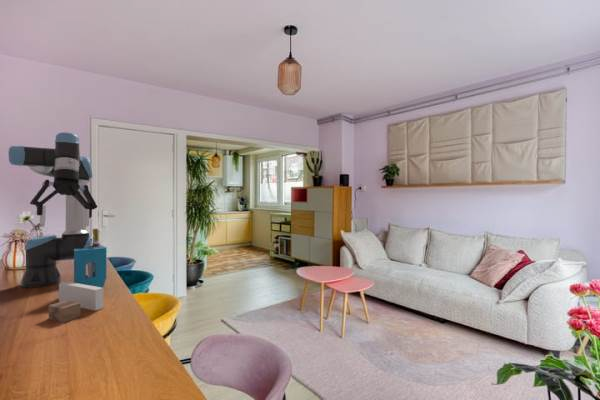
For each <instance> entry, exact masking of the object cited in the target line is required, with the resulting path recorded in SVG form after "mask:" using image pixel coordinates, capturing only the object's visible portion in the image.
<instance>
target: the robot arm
mask: <svg viewBox="0 0 600 400" xmlns="http://www.w3.org/2000/svg"><path fill="white" fill-rule="evenodd" d="M54 142H55V144H54V145H55V146H54V147H55V148H50V147H34V146H24V145H12V146H10V147H9V149H8V161H9V164H10V165H13V166H19V167H21V166H25V167H28V168H29V169H30V170H31V171H32V172H34V173H35V174H39V175H43V176H46V177H50V178H53V181H50V179H45V180H44V181H42V185H41V188H40V189H39V190H38V191H37V193H36V194H35V195H34V197H33V198H32V199H31V201H30V202H29V204H30V205H32V206H33V205H34V206H35V207H36V215H37V216H39V226H43V225H45V224H46V211H47V205H45V204H46V203H47V202H48V201H50V200H51V199H52V198H53V197H54V196H56V195H57V194H59V195H61V196H65V230H64V231H63V232H62V233H61V237H57V235H56V234H50V235H49V234H48V235H43V236H42V235H41V236H38V237H37V236H36V237H32V238H29V239H28V240H26V242H25V248H24V250H25V270H24V273H23V275H22V278H21V280H20V287H21V288H31V289H32V288H41V287H46V286H51V285H55V284H57V283H58V284H59V283H61V281H62V276H61V273H60V271H59V269H58V267H57V262H58V261H69V260H71V261H72V260H74V249H82V248H88V247H90V246H92V244H93V235H90V231H88V230H87V227H88V226H90V219H91V218H92V216H93V214H92V213H93V210H95V209H97V208H98V205H97V203H96V201H95V199H94V198H93V196H92V194H91V192H90V191H89V185H88V183H89V182H90V179H93V177H94V176H93V170H92V163H91V159H90V158H89V157H88V156H82V155H80V154H81V153H80V137H79V136H78V135H76V134H75V133H72V132H67V131H66V132H59V133H57V134H56V135H55V139H54ZM51 186H52V187H53V188H54V190H53V191H52V192H50V194H48V195H46V196H45V198H43V199H42V200H40V198H41V197H42V195H43V194H45V192H46V191H47V189H48V188H50V187H51ZM39 200H40V201H39Z"/></svg>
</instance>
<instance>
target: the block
mask: <svg viewBox="0 0 600 400" xmlns="http://www.w3.org/2000/svg"><path fill="white" fill-rule="evenodd" d="M90 261H92V262H93V263H95V274H94V275H93V277H88V274H87V266H88V263H89V262H90ZM107 263H108V262H107V246H104V247H94V248H82V249H74V259H73V283H79V284H85V285H90V286H96V287H101V288H103V289H104V287H105V284H106V280H107V268H108V267H107V265H108V264H107Z"/></svg>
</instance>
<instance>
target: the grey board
mask: <svg viewBox="0 0 600 400" xmlns="http://www.w3.org/2000/svg"><path fill="white" fill-rule="evenodd" d="M65 300H69V301H73V302H77V303H81V309H86V310H90V311H95V312H96V311H99V310H101V309H104V287H103V288H101V287H96V286H90V285H85V284H79V283H74V281H73V282H72V281H68V280H67V281H62V282H58V302H62V301H65Z"/></svg>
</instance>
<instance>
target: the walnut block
mask: <svg viewBox="0 0 600 400" xmlns="http://www.w3.org/2000/svg"><path fill="white" fill-rule="evenodd" d="M81 310H82V308H81V303H77V302H73V301H69V300H65V301H62V302H59V301H58V302H56V303H51V304H49V305H48V319H49V320H52V321H55V322H59V323H62V324H63V323H65V322H68V321H72V320H74V319H77V318H80V317H81V313H82V312H81Z"/></svg>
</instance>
